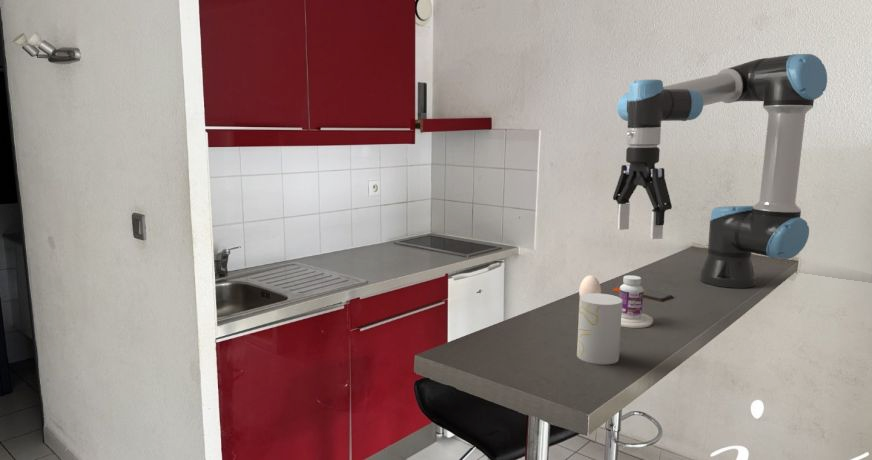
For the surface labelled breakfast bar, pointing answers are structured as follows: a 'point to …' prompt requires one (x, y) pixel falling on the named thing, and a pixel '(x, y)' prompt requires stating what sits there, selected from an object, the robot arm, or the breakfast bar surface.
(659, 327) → the breakfast bar surface
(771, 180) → the robot arm
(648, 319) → the saucer
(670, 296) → the phone
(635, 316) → the pill bottle
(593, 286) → the egg
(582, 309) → the white upright cylinder
